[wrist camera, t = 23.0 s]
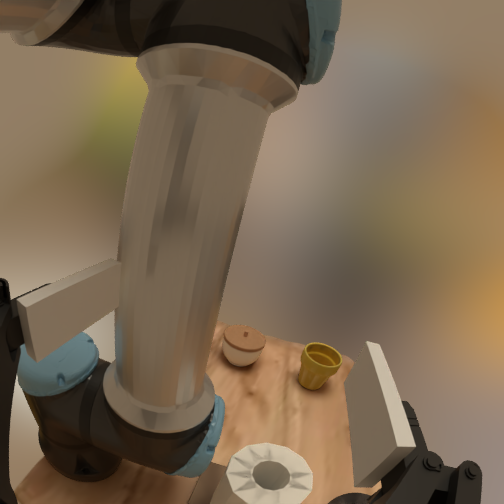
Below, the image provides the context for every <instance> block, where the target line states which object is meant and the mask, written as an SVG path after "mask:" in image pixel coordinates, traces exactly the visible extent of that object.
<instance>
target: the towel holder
mask: <svg viewBox="0 0 504 504" xmlns="http://www.w3.org/2000/svg"><path fill="white" fill-rule="evenodd" d="M369 497H370V495H367V494H362V493H348V494H344V495H341V496H338V497H336V498H335V499H333V500H332V501H330V502H329V503H328V504H367V502H368V501H367V500H366V499H368V498H369Z"/></svg>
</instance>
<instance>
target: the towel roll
mask: <svg viewBox="0 0 504 504" xmlns="http://www.w3.org/2000/svg"><path fill="white" fill-rule="evenodd" d="M312 482H313V473H312V471H311V470H310V468H309V466H308V465H307V463H306V461H305V459H304V458H303V457H301V456H300V455H298V454H296V453H295V452H293V451H292V450H291V449H289V448H288V447H284V446H279V445H275V444H271V443H261V444H255V445H247V446H246V447H244V448H243V449H241V450H240V451H239V452H237V453H236V454H234V455H233V456H232V457H231V459H230V461H229V463H228V465H227V467H226V470H225V472H224V474H223V476H222V478H221V480H220V482H219V484H218V486H217V488H216V490H215V492H214V494H213V496H212V499H211V502H210V504H300V503H301V502H302V501H303V500H304V499H305V498H306V497H307V496H308V495H309V493H310V492H311V491H312Z"/></svg>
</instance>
